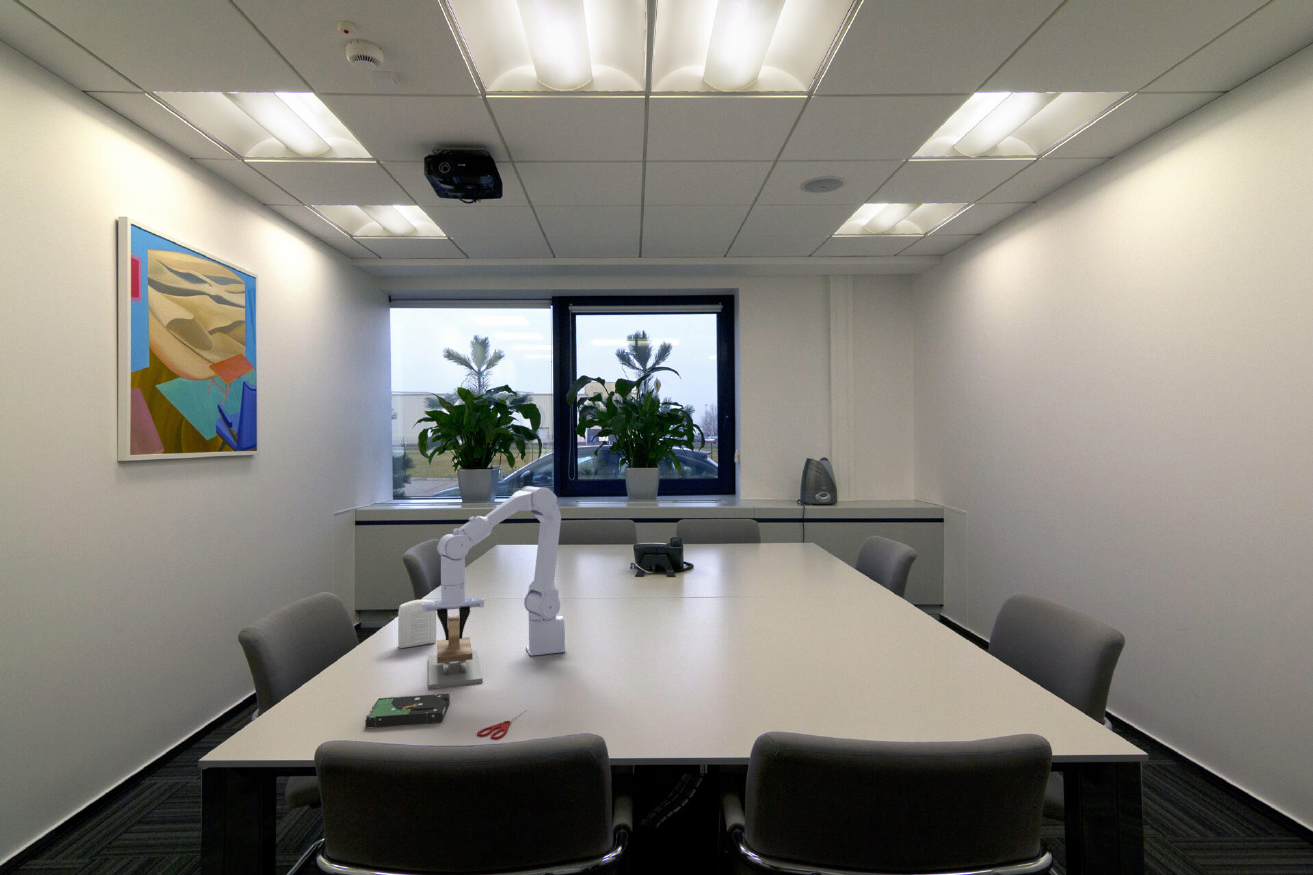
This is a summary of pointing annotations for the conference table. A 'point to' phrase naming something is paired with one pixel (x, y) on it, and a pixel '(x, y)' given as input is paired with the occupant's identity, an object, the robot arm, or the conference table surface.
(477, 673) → the peg stand
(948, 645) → the conference table surface
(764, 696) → the conference table surface
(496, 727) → the scissors
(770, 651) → the conference table surface
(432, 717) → the disk drive
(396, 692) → the conference table surface
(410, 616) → the white upright slab
